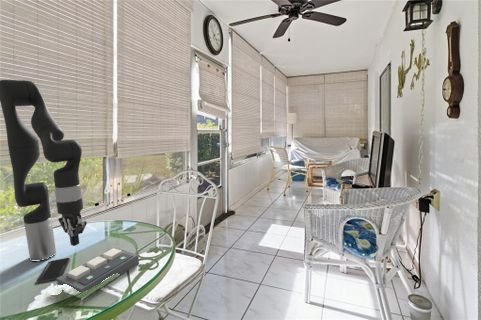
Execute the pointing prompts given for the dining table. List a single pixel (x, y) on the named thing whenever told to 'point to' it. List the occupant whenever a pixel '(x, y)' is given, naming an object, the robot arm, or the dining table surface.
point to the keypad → (102, 272)
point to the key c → (112, 254)
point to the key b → (96, 263)
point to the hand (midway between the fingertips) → (75, 244)
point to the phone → (53, 270)
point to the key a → (78, 273)
